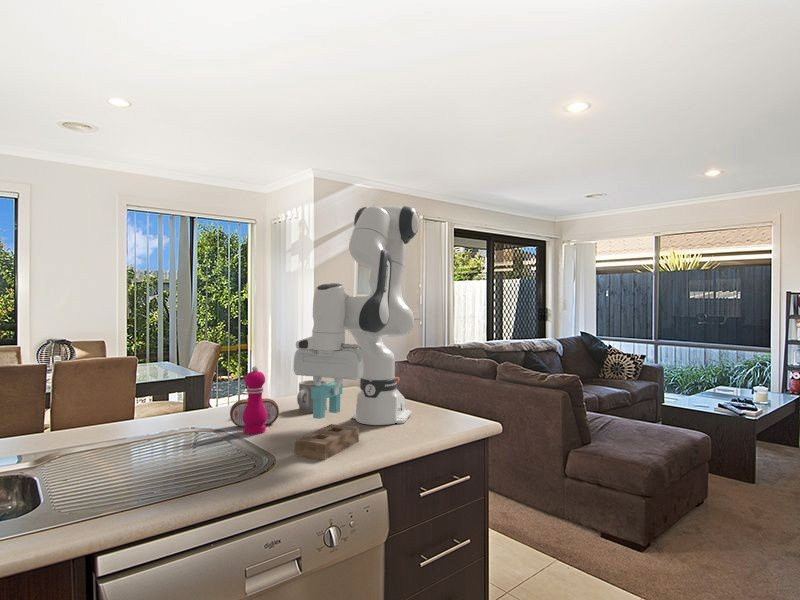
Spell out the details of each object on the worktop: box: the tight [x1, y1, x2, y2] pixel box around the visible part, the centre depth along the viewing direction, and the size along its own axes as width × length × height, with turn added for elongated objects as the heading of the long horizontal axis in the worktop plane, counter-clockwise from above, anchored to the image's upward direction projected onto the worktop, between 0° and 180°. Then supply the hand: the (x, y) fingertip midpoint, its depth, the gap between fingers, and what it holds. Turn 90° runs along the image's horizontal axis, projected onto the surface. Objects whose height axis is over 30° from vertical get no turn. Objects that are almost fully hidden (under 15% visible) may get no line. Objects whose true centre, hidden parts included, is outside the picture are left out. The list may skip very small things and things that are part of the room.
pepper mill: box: [243, 365, 267, 435], centre depth 152 cm, size 7×7×20 cm
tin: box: [229, 398, 280, 428], centre depth 160 cm, size 15×3×8 cm, turn 108°
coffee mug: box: [296, 379, 328, 414], centre depth 181 cm, size 13×10×10 cm
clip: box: [311, 381, 343, 420], centre depth 136 cm, size 11×3×8 cm, turn 157°
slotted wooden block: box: [294, 423, 360, 461], centre depth 136 cm, size 18×9×4 cm, turn 157°
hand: (327, 394), depth 136 cm, fingers closed on clip, 3 cm apart
